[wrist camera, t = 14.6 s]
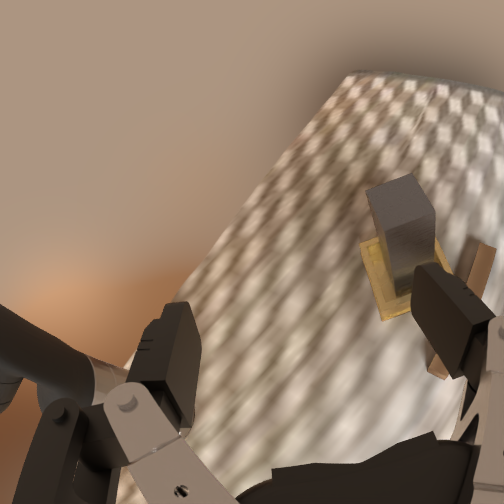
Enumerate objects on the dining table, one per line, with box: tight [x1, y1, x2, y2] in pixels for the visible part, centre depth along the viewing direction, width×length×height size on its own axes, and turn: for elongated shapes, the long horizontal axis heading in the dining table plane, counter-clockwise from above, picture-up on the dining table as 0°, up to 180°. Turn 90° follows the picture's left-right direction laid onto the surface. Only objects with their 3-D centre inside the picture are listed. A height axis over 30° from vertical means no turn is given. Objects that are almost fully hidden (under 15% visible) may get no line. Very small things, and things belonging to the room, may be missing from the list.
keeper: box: [359, 237, 453, 321], centre depth 35 cm, size 10×10×3 cm
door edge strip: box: [427, 243, 496, 380], centre depth 28 cm, size 2×16×3 cm, turn 141°
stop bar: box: [365, 173, 435, 296], centre depth 30 cm, size 5×5×14 cm
